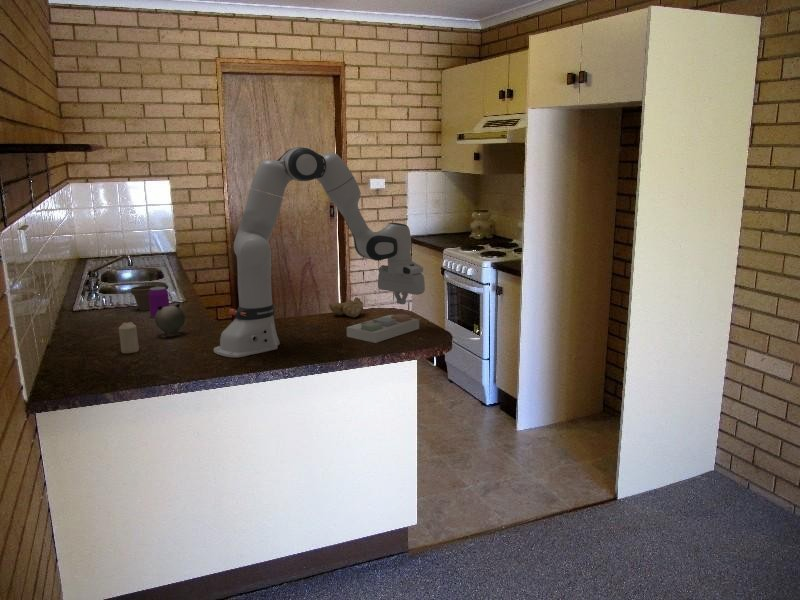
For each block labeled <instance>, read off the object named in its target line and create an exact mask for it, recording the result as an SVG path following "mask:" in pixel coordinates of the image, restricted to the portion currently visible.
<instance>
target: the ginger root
mask: <svg viewBox="0 0 800 600" xmlns="http://www.w3.org/2000/svg"><path fill="white" fill-rule="evenodd" d="M363 303H364V302H363V301H361V298H359V297H357V296H355V297H354V299H353V300H352V299H347V300H346V302H331V303H329V305H328V307H329V309H330V311H331V312H332V313H335V314H336V313H337V316H338V315H339V316H342V315H346V316H347V317H350V318H356V317H358V316H359V315H360V314H361V313H362V312H363V311H364V304H363Z"/></svg>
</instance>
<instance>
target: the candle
mask: <svg viewBox="0 0 800 600" xmlns="http://www.w3.org/2000/svg"><path fill="white" fill-rule="evenodd" d="M137 330H138V329H137V325H136V324H134V323H133V322H132V321H129V322H123V323H122V324H121V325H120V326H119V327H118V334H119V335H118V336H119V343H120V350H121V351H120V352H121V353H122V354H135V353H137V352H139V351H140V347H139V339H138V331H137Z"/></svg>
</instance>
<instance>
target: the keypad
mask: <svg viewBox="0 0 800 600" xmlns="http://www.w3.org/2000/svg"><path fill="white" fill-rule="evenodd" d="M393 315H394V314H388V315H385V316H381V317H378V318H374V319H370V320H367V321H364V322H360V323H357V324H353V325H350V326H346V337H347V338H351V339H355V340H360V341H364V342H369V343H373V344H377V343H379V342H382V341H385V340H389V339H392V338H395V337H398V336H401V335H405V334H407V333H410V332H413V331H417V330H420V319H418V318H413V317H410V320H408V321H405V322H396V324H395V325H392V326H389V327H385V326H381V328H382V329H379V330H376V331H373V332H371V331H366V330H362V328H361V325H362V324H366V323H369V322H374V323H377V320H379V319H383V318H391V316H393Z"/></svg>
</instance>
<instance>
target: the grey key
mask: <svg viewBox="0 0 800 600" xmlns="http://www.w3.org/2000/svg"><path fill="white" fill-rule="evenodd" d="M377 323H379V324H381V326H385V327H389V326H392V325H395V324H396V319H391V318H383V319H379V320H377Z"/></svg>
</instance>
